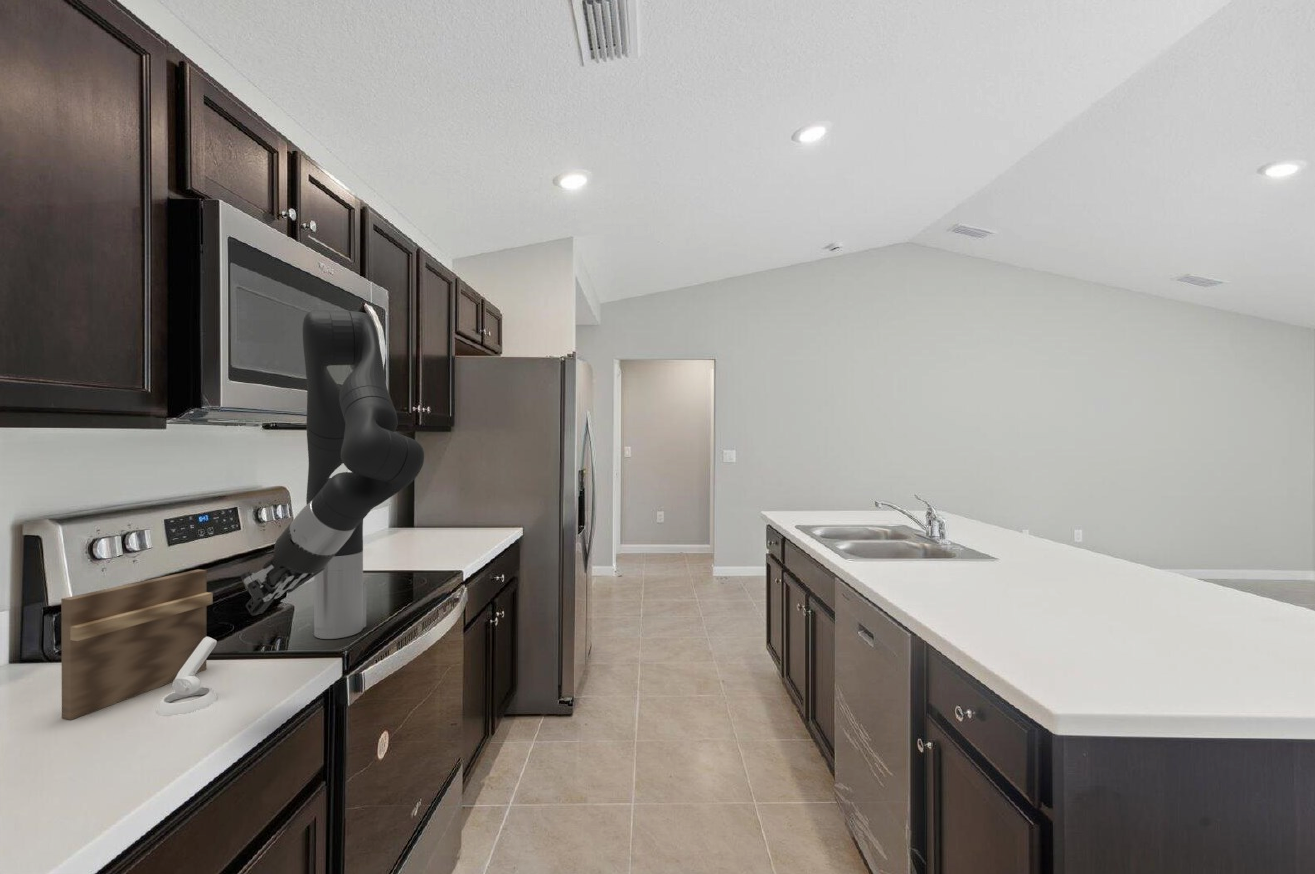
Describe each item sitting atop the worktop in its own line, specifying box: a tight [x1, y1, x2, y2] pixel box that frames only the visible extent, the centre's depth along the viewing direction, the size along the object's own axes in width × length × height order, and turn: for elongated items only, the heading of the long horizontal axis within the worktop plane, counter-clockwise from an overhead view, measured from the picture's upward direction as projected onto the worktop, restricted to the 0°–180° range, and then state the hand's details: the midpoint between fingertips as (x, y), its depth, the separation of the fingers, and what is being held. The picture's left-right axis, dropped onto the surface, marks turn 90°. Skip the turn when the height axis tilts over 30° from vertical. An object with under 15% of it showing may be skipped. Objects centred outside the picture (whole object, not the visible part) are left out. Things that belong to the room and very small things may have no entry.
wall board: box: [60, 568, 214, 721], centre depth 99 cm, size 20×4×18 cm, turn 163°
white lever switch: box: [155, 636, 218, 717], centre depth 96 cm, size 8×12×7 cm
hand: (253, 610), depth 90 cm, fingers closed
